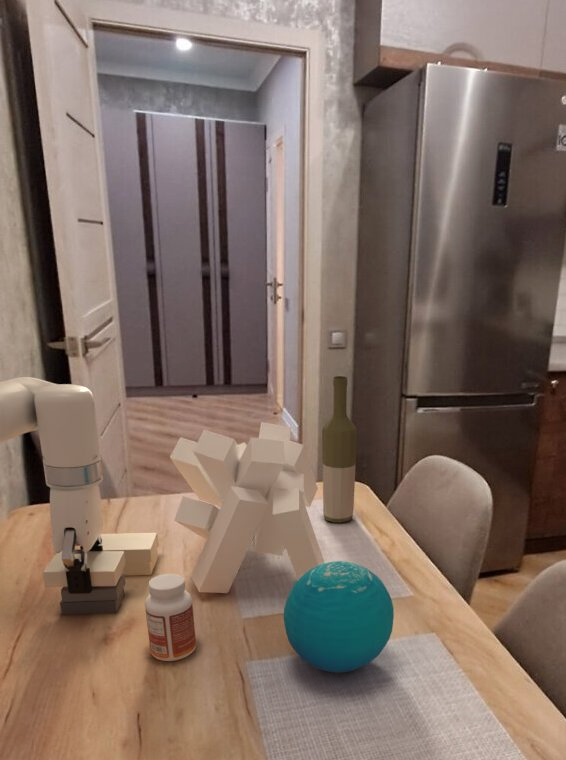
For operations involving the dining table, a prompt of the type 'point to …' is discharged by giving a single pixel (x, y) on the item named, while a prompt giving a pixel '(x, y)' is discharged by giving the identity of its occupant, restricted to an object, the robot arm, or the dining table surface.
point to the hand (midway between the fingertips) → (87, 579)
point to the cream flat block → (101, 564)
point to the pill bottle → (170, 618)
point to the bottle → (339, 458)
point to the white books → (134, 550)
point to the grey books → (94, 599)
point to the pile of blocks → (247, 502)
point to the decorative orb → (338, 616)
